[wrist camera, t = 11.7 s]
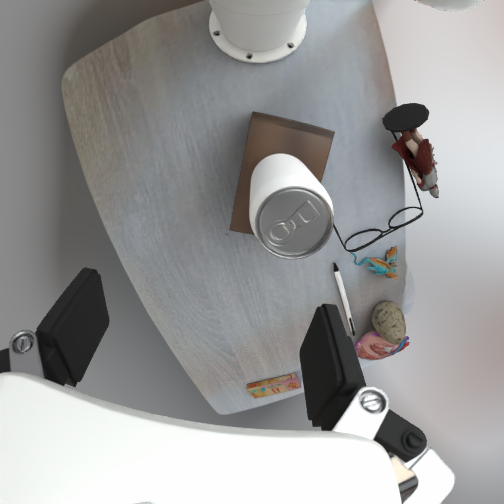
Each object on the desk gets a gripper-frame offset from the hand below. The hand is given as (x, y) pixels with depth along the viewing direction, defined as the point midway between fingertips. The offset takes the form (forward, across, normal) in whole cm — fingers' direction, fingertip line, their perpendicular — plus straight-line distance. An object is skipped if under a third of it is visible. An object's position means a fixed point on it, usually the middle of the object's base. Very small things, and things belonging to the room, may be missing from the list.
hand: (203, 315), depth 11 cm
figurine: (+24, -19, -12) cm, 33 cm away
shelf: (+29, -5, -1) cm, 30 cm away
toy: (+28, -13, +46) cm, 55 cm away
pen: (+29, -22, +20) cm, 42 cm away
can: (+21, -5, -1) cm, 22 cm away
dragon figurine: (+30, -25, +11) cm, 40 cm away
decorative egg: (+29, -30, +21) cm, 47 cm away
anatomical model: (+27, -27, +28) cm, 47 cm away
